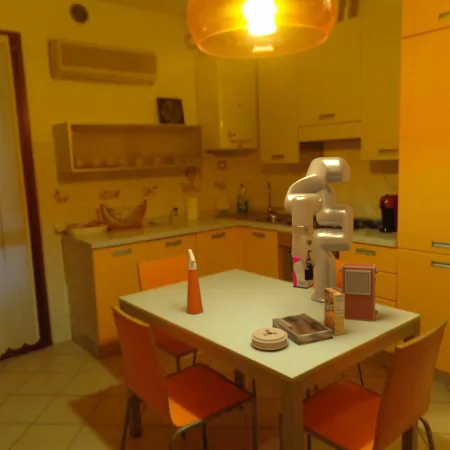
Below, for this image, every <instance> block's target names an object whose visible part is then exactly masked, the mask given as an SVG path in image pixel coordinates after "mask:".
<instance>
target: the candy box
mask: <svg viewBox="0 0 450 450" xmlns="http://www.w3.org/2000/svg"><path fill="white" fill-rule="evenodd" d="M323 303H324V305H323V307H324V309H323V312H324V314H323V315H324V318H323V319H324V323H323V325H325V326H327V327H328V328H330V329H332V330H333V336H340V335H345V325H346V324H345V322H346V319H345V294H344V293H342V292H340V291H339V290H337V289H335V288H334V287H333V288H324V302H323Z"/></svg>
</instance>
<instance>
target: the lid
mask: <svg viewBox="0 0 450 450" xmlns="http://www.w3.org/2000/svg"><path fill="white" fill-rule="evenodd" d="M250 337H251V342H250V343H251V345H252V346H253V347H254V348H256V349H258V350H262V351H273V350H279V349H283V348H285V347H286V346H288V343H289V342H288V337H287V333H286V332H284V331H283V330H281V329H278V328H274V327H270V326H269V327H261V328H258V329H255V330H254V331H253V332H252V333H251V334H250Z"/></svg>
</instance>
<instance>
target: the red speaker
mask: <svg viewBox="0 0 450 450" xmlns="http://www.w3.org/2000/svg"><path fill="white" fill-rule="evenodd" d="M338 272H340V274H341V277H340V278H341V280H340V283H341V286H340V287H341V288H340V289H341V292H342V293H344V294H345V320H353V321H366V322H367V321H368V322H375V319H376V315H378V314H379V310H378V309H376V274H379V272H380V271H379V269H377V268H376V263H375V264H374V263H351V262H350V263H348V262H346V263H345V262H343V263H341V266H340V267H339V268H338Z"/></svg>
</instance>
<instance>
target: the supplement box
mask: <svg viewBox="0 0 450 450" xmlns="http://www.w3.org/2000/svg"><path fill="white" fill-rule="evenodd" d="M306 261H309V259H308V258H307V259H306ZM307 265H309V263H307ZM305 269H306V268H305V265H304V262H301V261H300V258H299V257H297V256H294V257H293V259H292V286H293V288H295V289H296V288H297V289H303V290H308V289H310V288H312V287H313V286H314V279H313V280H307V281H306V280H305Z"/></svg>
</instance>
